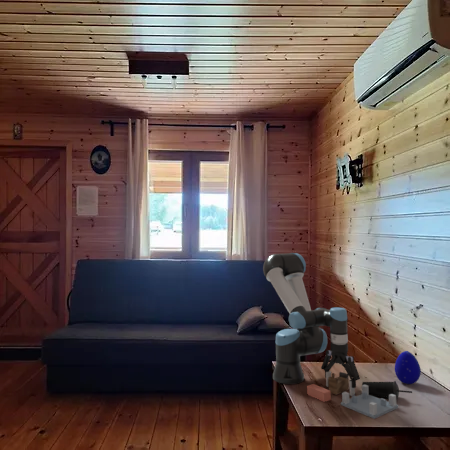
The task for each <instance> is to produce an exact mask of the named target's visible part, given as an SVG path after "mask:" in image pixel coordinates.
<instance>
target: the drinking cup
mask: <svg viewBox="0 0 450 450" xmlns="http://www.w3.org/2000/svg"><path fill="white" fill-rule="evenodd" d="M361 383H362V384H361V386H362V385H364V384H365V385H368V387H369V395H371V396H374V397H378V398H380V397H381V398H383V399H385V398H386V399H389V395H390V394H394V395H396V401H397V400H398V398H399V396H400V393H408V394H413V390H401V389H400V388H399V385H398V383H397V382H396V381H362V382H361Z"/></svg>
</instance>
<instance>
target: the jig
mask: <svg viewBox="0 0 450 450" xmlns="http://www.w3.org/2000/svg"><path fill="white" fill-rule="evenodd" d="M341 396H342V397H341V398H342V399H341V400H342V401H341V402H340V406H342V407H345V408H348V409H350V410H353V411H355V412H357V413H359V414H361V415H365V416H367V417H368V418H371V419H374V420H375V419H377V418H380V417H382V416H384V415H385V414H387V413H390V412H392V411H395V410H397V409H399V405H398V404H397V400H396V395H394V394H390V395H389V398H388V401H387V398H386V399H385V398H384V397H381V398H380V397H378V396H374V395H369V387H368V385H365V384H364V385H362V384H361V394H359V395H355V394H354V395H352V396H351V398H350V392H347V391H343V392H341Z"/></svg>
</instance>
